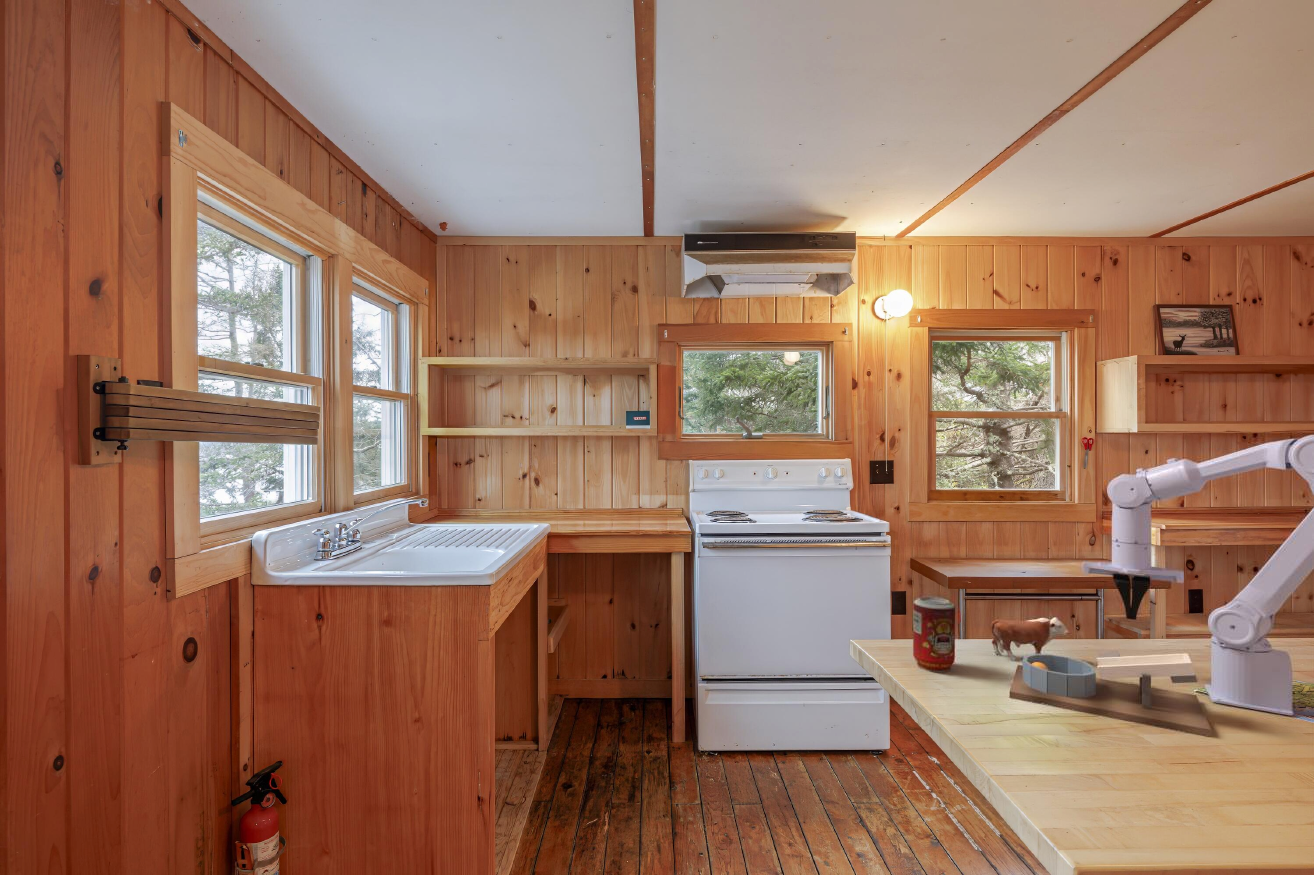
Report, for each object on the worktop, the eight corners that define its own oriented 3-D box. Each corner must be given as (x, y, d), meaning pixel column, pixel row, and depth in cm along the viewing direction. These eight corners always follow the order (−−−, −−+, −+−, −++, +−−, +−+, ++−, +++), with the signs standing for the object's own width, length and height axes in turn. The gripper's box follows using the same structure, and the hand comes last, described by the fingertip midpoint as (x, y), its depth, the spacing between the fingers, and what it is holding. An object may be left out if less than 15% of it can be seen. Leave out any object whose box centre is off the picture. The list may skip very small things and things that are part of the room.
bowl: (1095, 682, 109) (1095, 661, 109) (1095, 702, 101) (1096, 680, 101) (1025, 670, 115) (1025, 650, 115) (1020, 688, 107) (1020, 667, 107)
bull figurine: (1071, 665, 121) (1071, 621, 121) (992, 659, 124) (993, 616, 124) (1061, 657, 125) (1062, 614, 125) (986, 652, 128) (986, 610, 128)
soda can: (929, 675, 115) (930, 605, 115) (905, 662, 122) (905, 596, 122) (963, 671, 117) (964, 603, 117) (937, 659, 124) (937, 594, 124)
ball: (1050, 678, 110) (1048, 660, 110) (1050, 684, 107) (1047, 665, 108) (1030, 677, 112) (1027, 659, 112) (1029, 682, 109) (1026, 664, 109)
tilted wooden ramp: (1186, 658, 107) (1181, 640, 108) (1198, 683, 96) (1191, 662, 97) (1100, 662, 114) (1095, 645, 114) (1102, 686, 103) (1096, 667, 103)
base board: (1196, 701, 104) (1196, 663, 104) (1211, 737, 92) (1211, 694, 92) (1017, 670, 118) (1017, 637, 118) (1009, 697, 105) (1009, 660, 105)
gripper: (1082, 541, 117) (1082, 616, 117) (1186, 548, 109) (1186, 630, 109) (1082, 536, 123) (1082, 608, 123) (1181, 543, 115) (1180, 620, 115)
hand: (1131, 618), depth 116 cm, fingers closed
